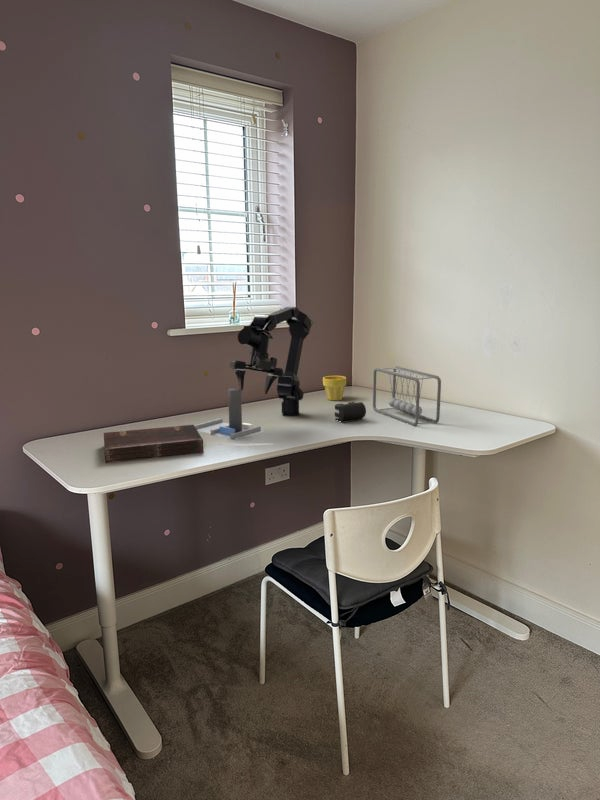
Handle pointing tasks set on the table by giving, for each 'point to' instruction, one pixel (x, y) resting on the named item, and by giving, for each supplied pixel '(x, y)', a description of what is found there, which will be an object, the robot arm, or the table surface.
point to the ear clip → (247, 425)
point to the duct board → (226, 429)
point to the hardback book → (152, 443)
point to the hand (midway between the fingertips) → (253, 392)
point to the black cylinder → (350, 411)
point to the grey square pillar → (235, 409)
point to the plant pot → (334, 387)
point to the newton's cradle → (405, 405)
